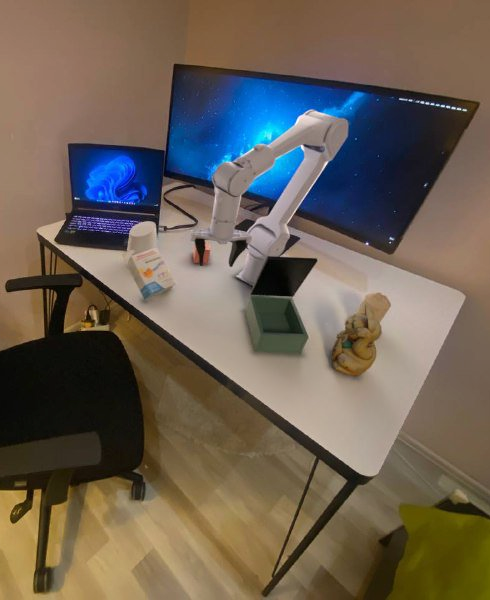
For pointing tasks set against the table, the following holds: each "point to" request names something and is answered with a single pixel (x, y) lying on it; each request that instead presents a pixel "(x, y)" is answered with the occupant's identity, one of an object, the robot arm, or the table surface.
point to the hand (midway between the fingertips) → (215, 264)
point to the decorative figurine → (356, 344)
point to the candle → (375, 305)
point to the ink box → (149, 272)
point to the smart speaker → (142, 237)
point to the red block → (206, 254)
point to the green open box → (275, 325)
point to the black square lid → (282, 276)
